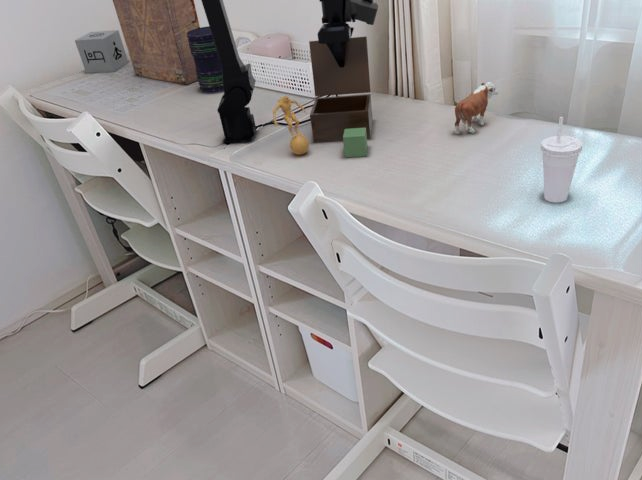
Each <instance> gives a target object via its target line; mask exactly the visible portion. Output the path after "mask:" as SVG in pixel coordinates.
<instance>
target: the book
mask: <svg viewBox="0 0 642 480" xmlns="http://www.w3.org/2000/svg"><path fill="white" fill-rule="evenodd" d="M112 2H113V6H114V9H115V13H116V16H117V19H118V22H119V25H120V29H121V32H122V37H123V39H124V42H125V45H126V48H127V51H128V55H129V58H130V61H131V65H132V67H133V71H134V74H135V76H136V77H141V78H142V77H143V78H148V79H153V80H159V81H165V82H168V83H169V82H170V83H176V84H181V85H190V84H193V83H194V82H198V80H197V75H196V66H195V62H194V58H193V56H192V54H191V50H190V47H189V42H188V37H187V32H189V31H191V30H193V29H197V28H201V26H200V21H199V17H198V12H197V8H196V4H195V0H112ZM192 21H196V23H192Z"/></svg>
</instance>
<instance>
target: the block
mask: <svg viewBox="0 0 642 480" xmlns="http://www.w3.org/2000/svg"><path fill="white" fill-rule="evenodd" d="M342 143H343V151H344V158H345V159H347V158H359V157H360V158H361V157H363V158H364V157H367V156H368V155H367V154H368V139H367V135H366V128H351V129H345V130H344V135H343V141H342Z"/></svg>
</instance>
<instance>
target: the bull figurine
mask: <svg viewBox="0 0 642 480" xmlns="http://www.w3.org/2000/svg"><path fill="white" fill-rule="evenodd" d="M497 95H499V90H498V89H497V88H496V85H495V84H494V83H493V82H491V81H487V82H486V83H485V82H482V83H481V84H480V85H479V86H478V87H477V88H476V89H475V90H473V91H472V92H471V93H470V94H469V95H468V96H466V97H465V98H463V99H461V100H460V101H459V102H457V104H456V106H455V107H454V115H455V122H454V128H455V130H454V134H455V135H460V134H461V131H460V129H459V126H460V123H462V124H463V127H464V129H465V131H468V132H469V133H472V134H474V133H476V130H475V129H474V128H473V126H472V121H473V122H476V123H477V122H478V124H479V125H480V126H485V123H484V117H485V113H486V110H487V107H488V105H489V99H491V98H492V97H493V96H497ZM477 116H479V120H478V117H477Z"/></svg>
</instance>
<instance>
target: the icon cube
mask: <svg viewBox="0 0 642 480" xmlns="http://www.w3.org/2000/svg"><path fill="white" fill-rule="evenodd" d="M74 43H75V45H76V48H77V51H78V53H79V57H80V59H81V63H82V65H83V67H84V71H85V73H86V74H92V73H93V74H95V73H112V72H113V73H114V72H116V71H118V70H119V69H120V68H122V67H123V66H125V65H126V64H128V63H129V60H128V56H127V53H126V49H125V47H124V44H123V40H122V37H121V33H120V30H119V29H115V30H114V29H113V30H99V31H90V32H88V33H86V34H84V35H82V36H80V37H78V38H76V39H75V40H74Z"/></svg>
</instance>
